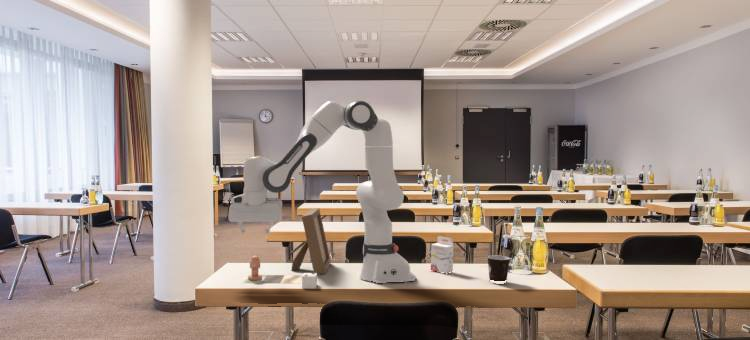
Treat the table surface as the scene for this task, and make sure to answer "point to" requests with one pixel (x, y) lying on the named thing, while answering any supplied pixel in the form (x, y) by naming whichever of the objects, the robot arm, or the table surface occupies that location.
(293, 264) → the photo frame
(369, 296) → the table surface
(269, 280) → the track board
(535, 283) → the table surface
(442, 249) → the ink cartridge box
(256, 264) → the pawn
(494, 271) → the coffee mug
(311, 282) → the die
